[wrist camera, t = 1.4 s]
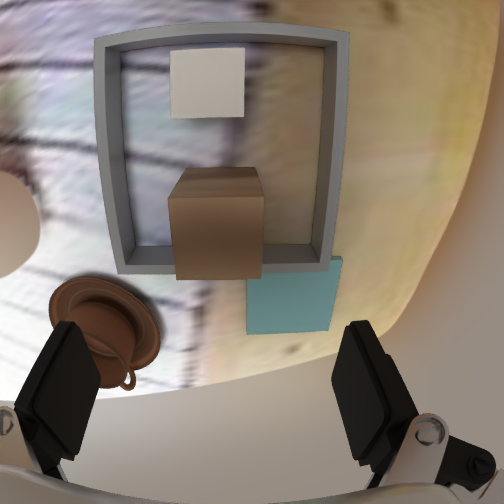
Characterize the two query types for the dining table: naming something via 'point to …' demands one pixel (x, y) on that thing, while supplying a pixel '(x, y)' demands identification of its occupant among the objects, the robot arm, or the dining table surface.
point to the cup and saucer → (108, 327)
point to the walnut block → (217, 224)
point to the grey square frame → (111, 46)
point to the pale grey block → (207, 83)
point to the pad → (292, 301)
